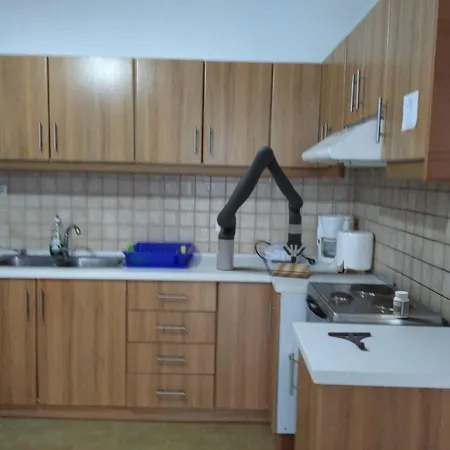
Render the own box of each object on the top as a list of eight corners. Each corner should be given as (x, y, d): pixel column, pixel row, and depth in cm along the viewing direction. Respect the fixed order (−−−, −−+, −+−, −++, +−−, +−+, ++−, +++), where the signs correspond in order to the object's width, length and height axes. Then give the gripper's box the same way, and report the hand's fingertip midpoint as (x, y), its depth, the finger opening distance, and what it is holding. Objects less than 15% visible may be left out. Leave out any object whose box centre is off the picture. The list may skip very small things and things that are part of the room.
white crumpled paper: (328, 267, 290) (334, 252, 289) (335, 270, 290) (341, 254, 290) (337, 273, 273) (343, 256, 273) (344, 276, 274) (351, 259, 273)
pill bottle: (405, 315, 193) (406, 290, 191) (410, 319, 187) (412, 294, 186) (390, 314, 193) (392, 290, 192) (395, 319, 187) (397, 293, 186)
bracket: (340, 352, 152) (340, 343, 152) (327, 336, 167) (328, 328, 167) (385, 352, 153) (385, 344, 153) (368, 336, 168) (369, 328, 167)
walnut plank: (272, 276, 262) (272, 272, 261) (274, 273, 268) (274, 269, 268) (305, 278, 257) (306, 274, 256) (307, 276, 263) (307, 272, 263)
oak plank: (275, 273, 270) (275, 270, 269) (277, 265, 275) (277, 262, 274) (307, 275, 265) (307, 272, 264) (309, 267, 270) (309, 265, 269)
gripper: (281, 232, 269) (280, 263, 271) (305, 233, 265) (304, 265, 267) (284, 230, 276) (283, 261, 278) (307, 232, 272) (306, 262, 274)
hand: (293, 263), depth 272 cm, fingers closed
